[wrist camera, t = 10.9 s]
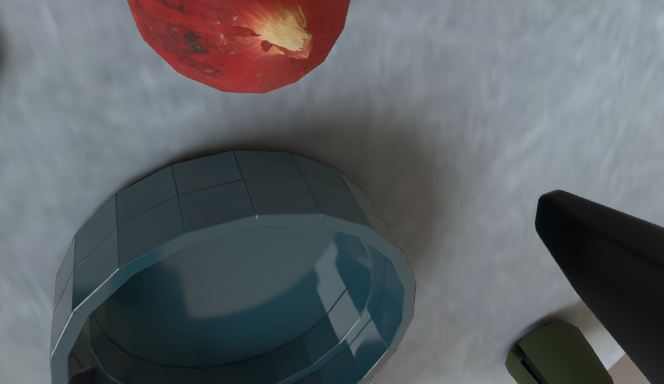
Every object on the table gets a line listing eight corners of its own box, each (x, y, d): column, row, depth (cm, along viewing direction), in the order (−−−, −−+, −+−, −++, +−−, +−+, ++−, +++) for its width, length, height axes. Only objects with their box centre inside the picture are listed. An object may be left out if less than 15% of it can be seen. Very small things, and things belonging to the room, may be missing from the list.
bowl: (234, 400, 32) (250, 473, 29) (-22, 322, 22) (-43, 419, 19) (426, 244, 29) (468, 305, 26) (230, 73, 19) (258, 136, 16)
